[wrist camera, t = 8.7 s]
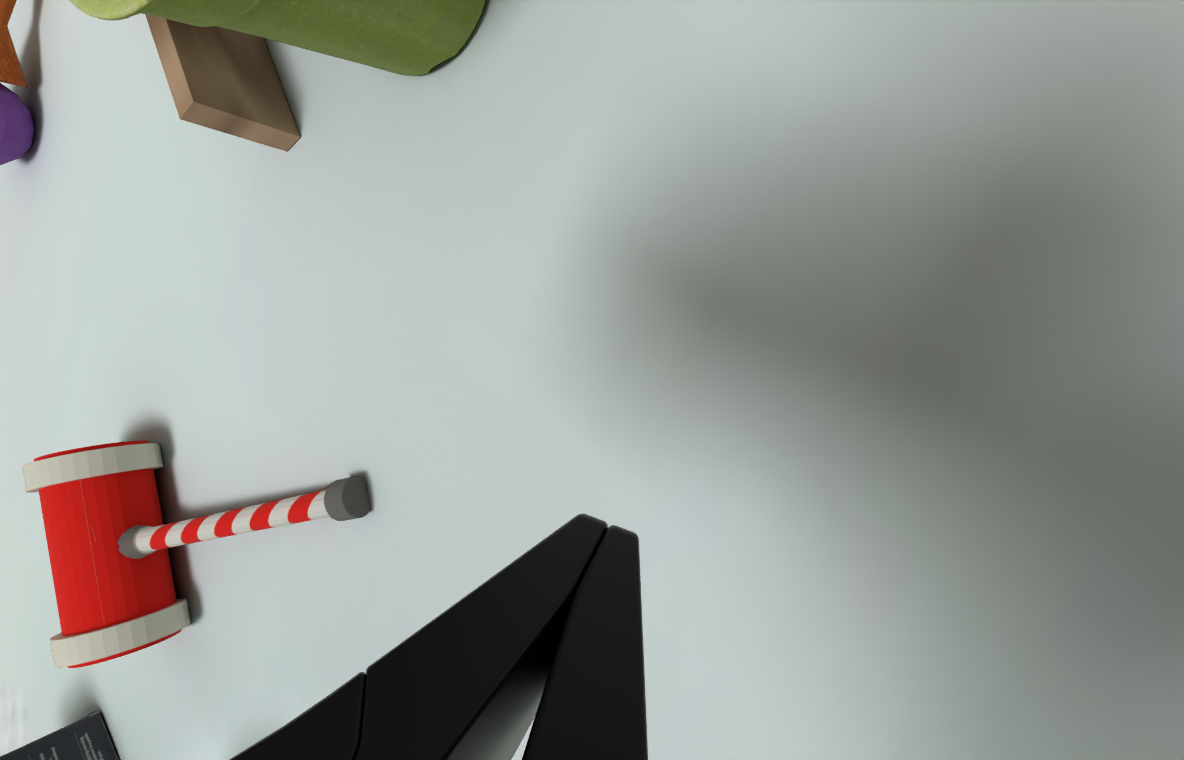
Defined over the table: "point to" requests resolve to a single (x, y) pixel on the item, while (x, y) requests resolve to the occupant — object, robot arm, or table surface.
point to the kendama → (12, 96)
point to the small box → (70, 743)
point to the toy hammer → (137, 544)
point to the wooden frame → (224, 81)
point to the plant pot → (327, 25)
